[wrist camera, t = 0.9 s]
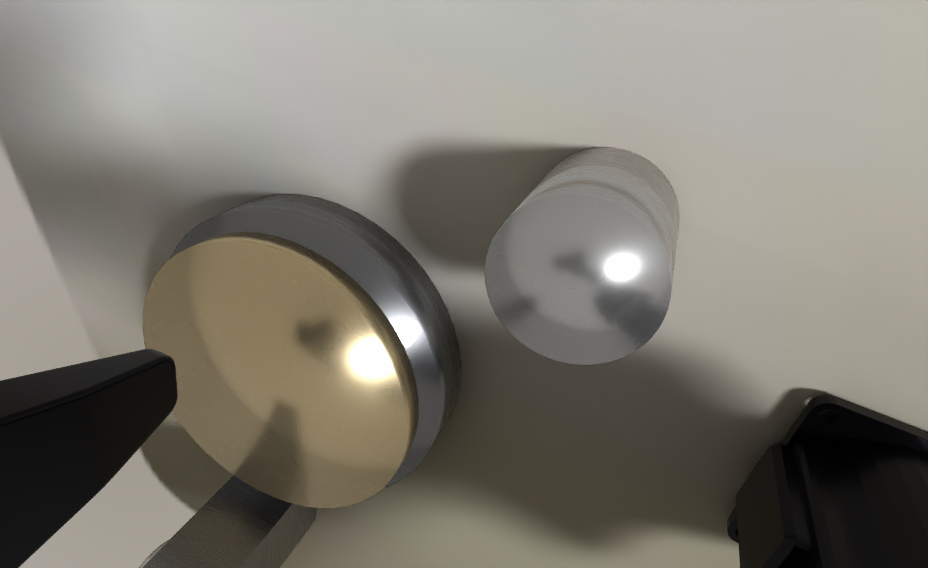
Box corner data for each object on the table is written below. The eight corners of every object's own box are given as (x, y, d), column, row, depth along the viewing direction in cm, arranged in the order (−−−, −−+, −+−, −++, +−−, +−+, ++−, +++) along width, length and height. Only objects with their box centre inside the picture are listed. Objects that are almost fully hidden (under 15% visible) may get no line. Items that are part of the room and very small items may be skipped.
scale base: (496, 264, 20) (368, 426, 12) (406, 568, 29) (298, 774, 21) (197, 149, 23) (-62, 225, 15) (196, 460, 31) (31, 610, 23)
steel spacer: (704, 175, 17) (704, 234, 12) (645, 303, 19) (628, 390, 15) (557, 127, 18) (511, 167, 13) (517, 255, 20) (466, 324, 15)
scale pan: (449, 305, 18) (437, 319, 18) (390, 532, 24) (379, 551, 23) (158, 186, 21) (135, 194, 20) (166, 419, 26) (148, 434, 25)
